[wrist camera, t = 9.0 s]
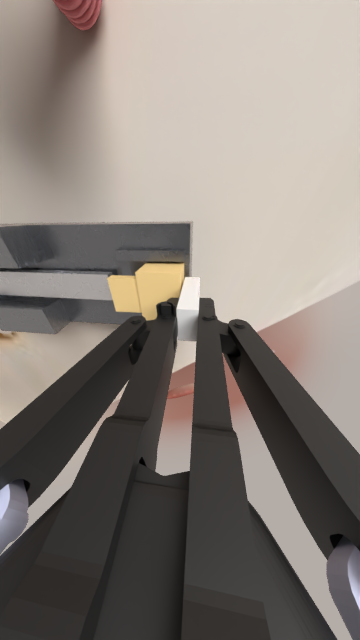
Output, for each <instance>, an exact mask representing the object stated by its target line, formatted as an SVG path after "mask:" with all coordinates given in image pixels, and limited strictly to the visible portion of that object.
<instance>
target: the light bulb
mask: <svg viewBox="0 0 360 640" xmlns="http://www.w3.org/2000/svg"><path fill="white" fill-rule="evenodd" d="M53 1H54V3H55V4H56V6H57V7H58V8H59V9H60V10H61V11H62V12H63V13H64V14H65V15H66V17H67V18H68V20H69V21H70V22H71V23H72V24H73V25H74V26H75V27H76V28H78V29H80V30H87V29H90V28H91V27H92V26H93V25H94V24H95V22H96V20H97V18H98V16H99V13H100V9H101V2H102V0H53Z"/></svg>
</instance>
